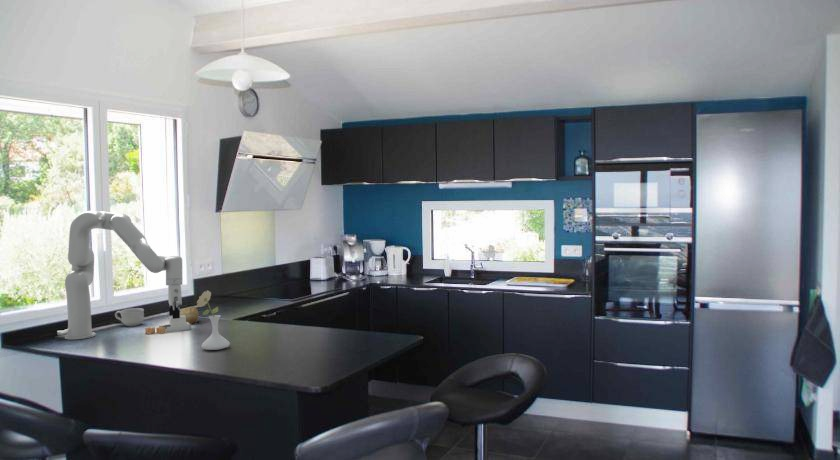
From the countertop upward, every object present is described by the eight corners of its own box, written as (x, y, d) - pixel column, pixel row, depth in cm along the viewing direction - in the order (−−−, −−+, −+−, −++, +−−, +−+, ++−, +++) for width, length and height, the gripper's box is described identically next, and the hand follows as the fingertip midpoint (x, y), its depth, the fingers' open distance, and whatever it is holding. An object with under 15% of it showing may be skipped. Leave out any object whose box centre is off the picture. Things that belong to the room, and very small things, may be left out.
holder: (167, 332, 298) (166, 327, 298) (164, 329, 306) (164, 324, 306) (191, 329, 304) (190, 324, 304) (187, 327, 311) (187, 322, 311)
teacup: (148, 323, 325) (147, 307, 325) (137, 327, 314) (136, 311, 314) (123, 323, 327) (122, 308, 326) (111, 327, 316) (110, 311, 316)
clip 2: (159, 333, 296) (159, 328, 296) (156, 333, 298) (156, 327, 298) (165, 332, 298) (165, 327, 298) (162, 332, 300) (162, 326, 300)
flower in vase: (220, 344, 269) (217, 286, 268) (235, 348, 262) (233, 288, 261) (192, 350, 259) (189, 290, 258) (207, 354, 251) (205, 292, 250)
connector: (160, 331, 299) (159, 319, 299) (158, 330, 302) (158, 317, 302) (186, 328, 305) (185, 316, 305) (184, 327, 308) (184, 315, 308)
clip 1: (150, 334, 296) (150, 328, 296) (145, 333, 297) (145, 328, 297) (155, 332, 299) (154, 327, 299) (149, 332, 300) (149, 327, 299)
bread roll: (197, 319, 333) (196, 304, 332) (200, 324, 319) (199, 308, 319) (178, 321, 328) (177, 306, 328) (180, 326, 315) (179, 310, 315)
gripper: (185, 283, 298) (185, 318, 299) (179, 279, 313) (179, 313, 313) (168, 284, 294) (169, 320, 295) (163, 280, 309) (163, 314, 310)
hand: (174, 316), depth 304 cm, fingers open, 9 cm apart
